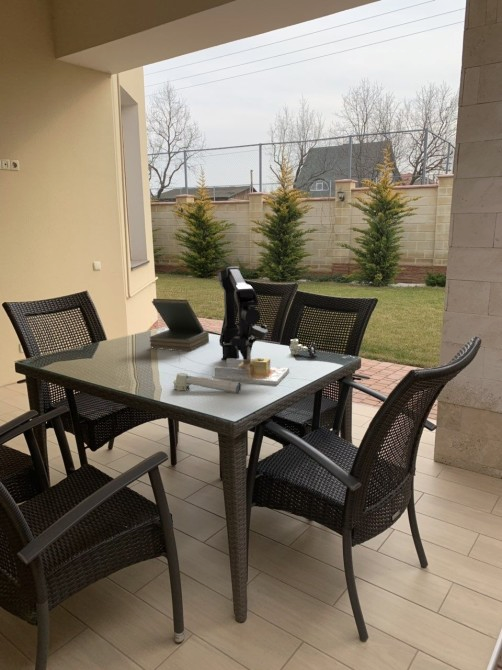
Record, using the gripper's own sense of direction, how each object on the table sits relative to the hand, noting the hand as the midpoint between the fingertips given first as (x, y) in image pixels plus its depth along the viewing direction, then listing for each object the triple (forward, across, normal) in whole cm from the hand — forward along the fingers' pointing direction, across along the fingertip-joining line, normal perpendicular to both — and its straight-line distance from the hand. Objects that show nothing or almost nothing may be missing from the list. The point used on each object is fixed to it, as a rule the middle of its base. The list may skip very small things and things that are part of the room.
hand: (246, 358), depth 193 cm
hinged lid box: (+8, +40, +51) cm, 65 cm away
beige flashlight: (+8, -21, +8) cm, 24 cm away
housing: (+5, 0, -6) cm, 8 cm away
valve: (+7, +36, -14) cm, 39 cm away
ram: (+5, 0, 0) cm, 5 cm away
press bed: (+7, 0, -2) cm, 7 cm away
